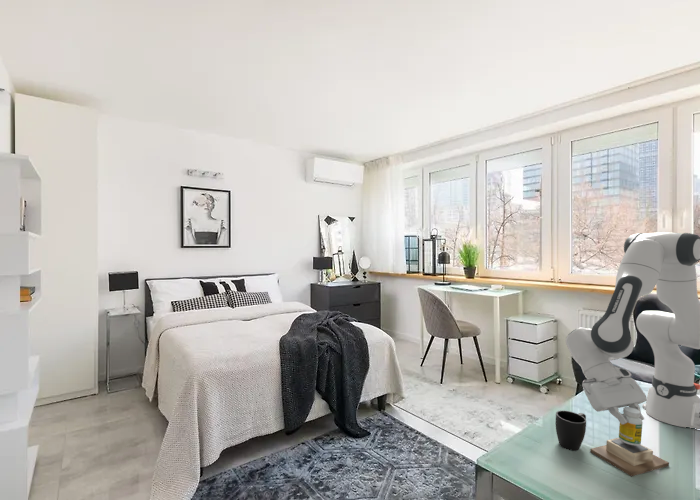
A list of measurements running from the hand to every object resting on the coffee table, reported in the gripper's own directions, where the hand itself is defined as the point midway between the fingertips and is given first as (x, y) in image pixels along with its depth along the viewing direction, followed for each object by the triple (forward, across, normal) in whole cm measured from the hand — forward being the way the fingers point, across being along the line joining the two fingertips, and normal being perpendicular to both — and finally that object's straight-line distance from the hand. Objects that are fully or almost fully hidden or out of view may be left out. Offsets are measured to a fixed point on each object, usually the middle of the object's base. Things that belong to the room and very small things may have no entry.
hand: (633, 422), depth 109 cm
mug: (0, -10, +16) cm, 19 cm away
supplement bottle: (+4, 0, +5) cm, 6 cm away
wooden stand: (+8, 0, +9) cm, 12 cm away
